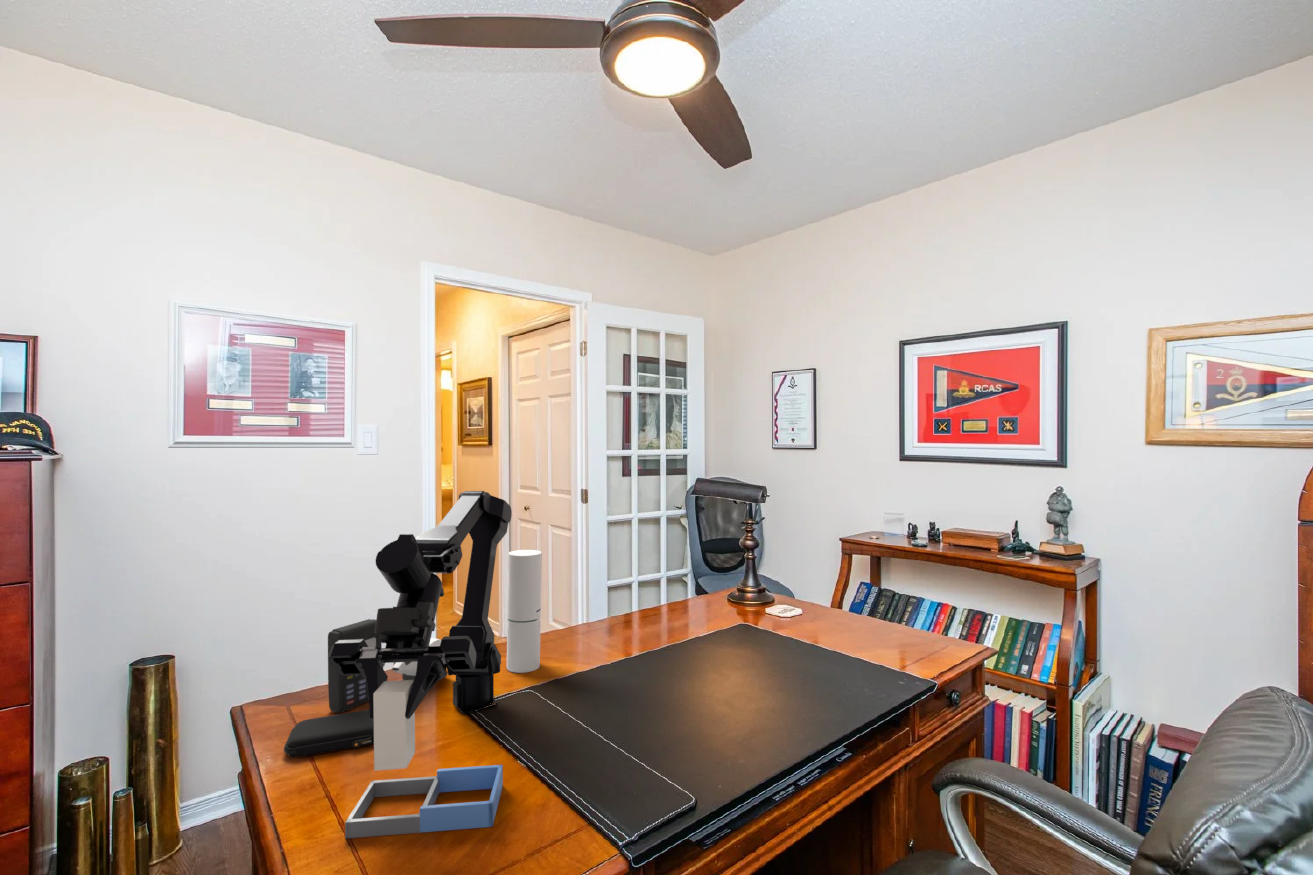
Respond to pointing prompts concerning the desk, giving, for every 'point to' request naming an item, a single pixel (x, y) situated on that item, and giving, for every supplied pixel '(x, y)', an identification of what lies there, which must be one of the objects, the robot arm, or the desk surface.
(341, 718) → the carrying case or bag
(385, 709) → the white rectangular block
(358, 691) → the card reader
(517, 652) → the cylindrical container
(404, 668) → the giant panda
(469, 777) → the organizer
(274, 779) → the desk surface
